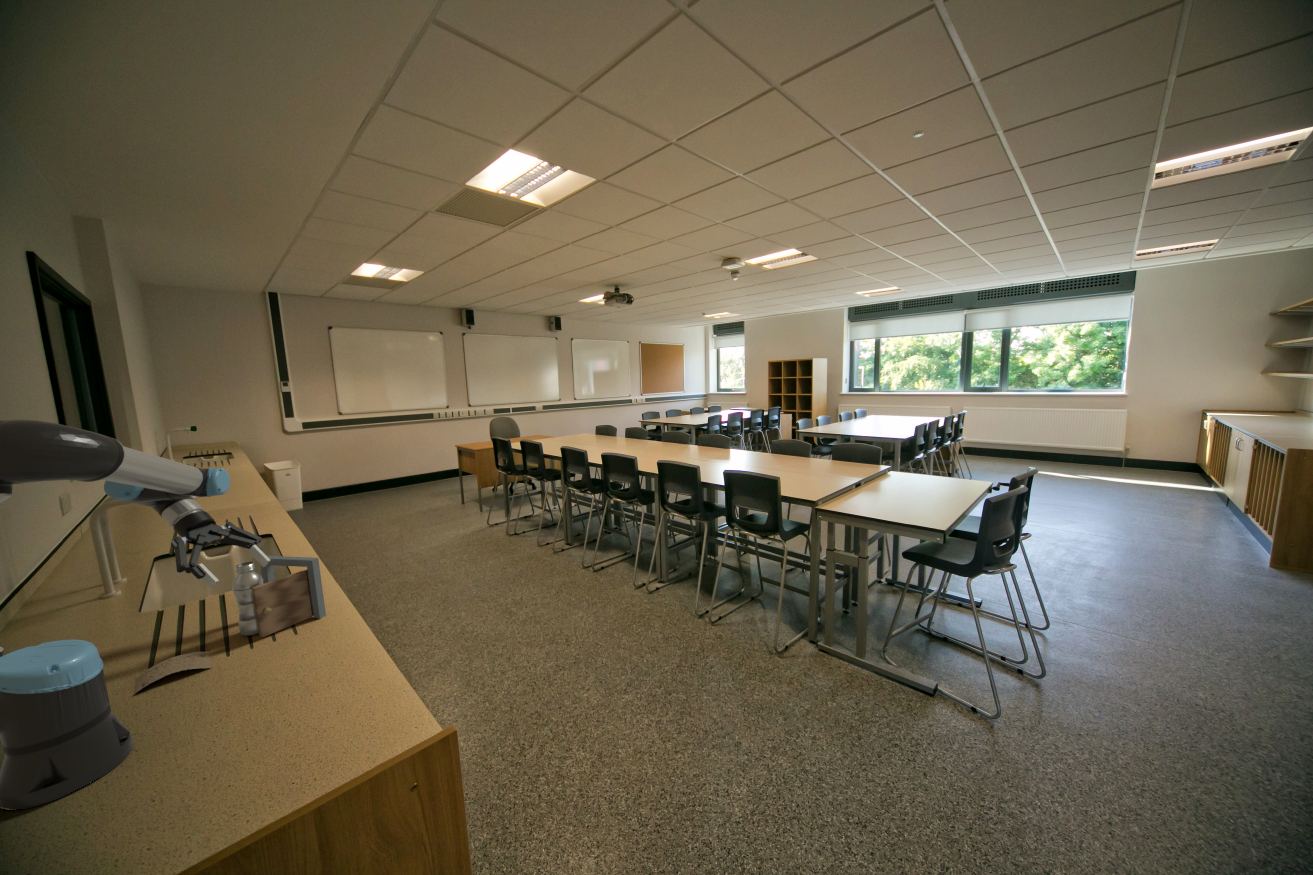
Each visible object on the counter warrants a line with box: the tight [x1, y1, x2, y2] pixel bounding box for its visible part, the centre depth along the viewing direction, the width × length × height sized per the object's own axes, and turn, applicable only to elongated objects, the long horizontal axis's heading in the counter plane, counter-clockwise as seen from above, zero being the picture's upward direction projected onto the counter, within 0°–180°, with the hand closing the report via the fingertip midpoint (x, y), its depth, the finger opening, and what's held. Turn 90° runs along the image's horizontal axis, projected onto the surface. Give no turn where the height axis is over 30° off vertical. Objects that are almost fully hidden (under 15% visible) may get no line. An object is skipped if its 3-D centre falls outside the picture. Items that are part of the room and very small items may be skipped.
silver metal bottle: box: [231, 561, 263, 637], centre depth 125 cm, size 6×7×20 cm
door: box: [252, 569, 314, 638], centre depth 127 cm, size 13×3×14 cm, turn 151°
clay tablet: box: [132, 651, 212, 696], centre depth 109 cm, size 14×10×3 cm
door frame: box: [259, 555, 327, 619], centre depth 134 cm, size 2×18×18 cm, turn 81°
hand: (242, 573), depth 125 cm, fingers open, 13 cm apart
